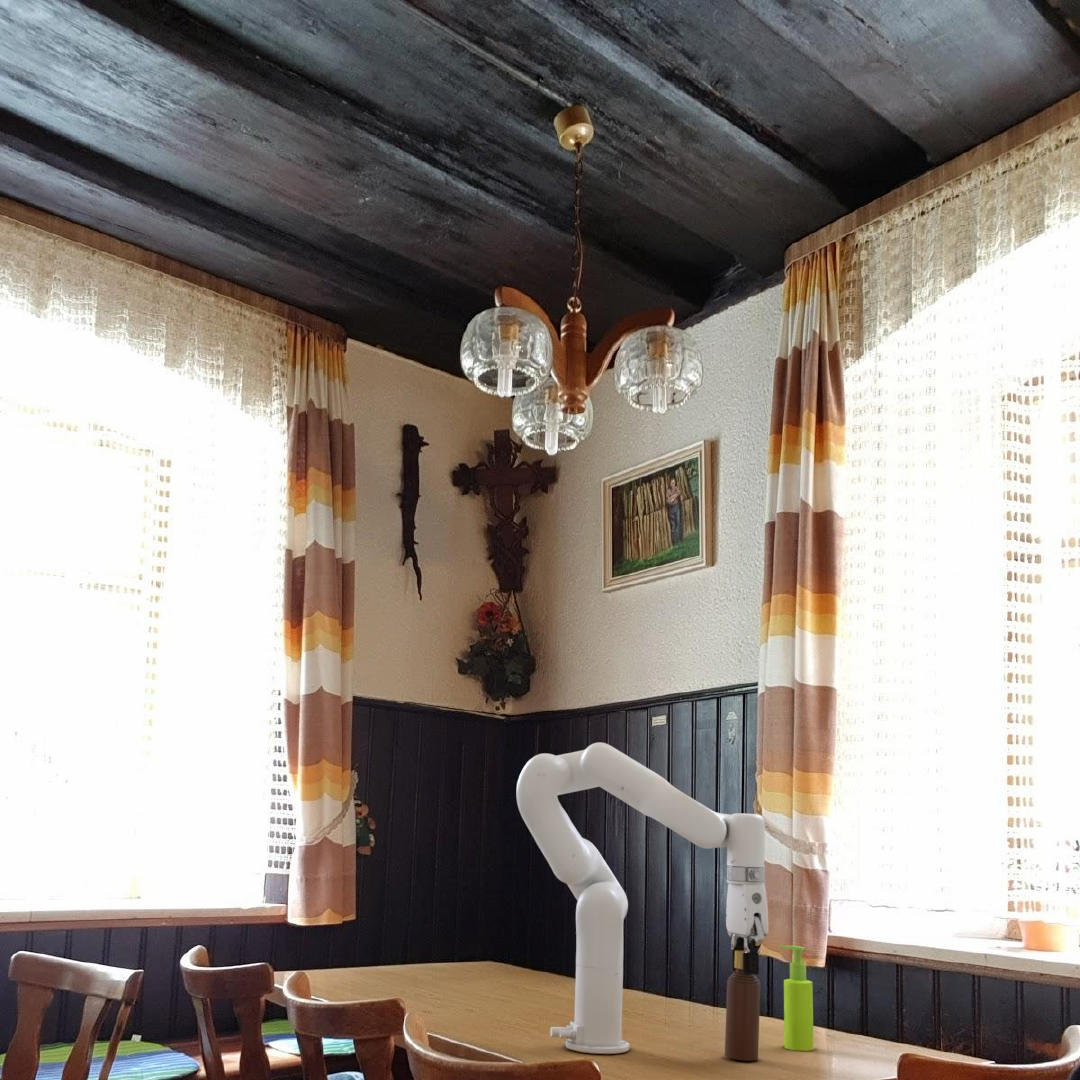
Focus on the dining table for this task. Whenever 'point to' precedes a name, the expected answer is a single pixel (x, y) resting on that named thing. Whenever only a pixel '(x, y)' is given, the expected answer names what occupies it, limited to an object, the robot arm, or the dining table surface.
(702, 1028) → the dining table surface
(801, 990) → the soap dispenser
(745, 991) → the bottle
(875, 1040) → the dining table surface
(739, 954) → the cap
